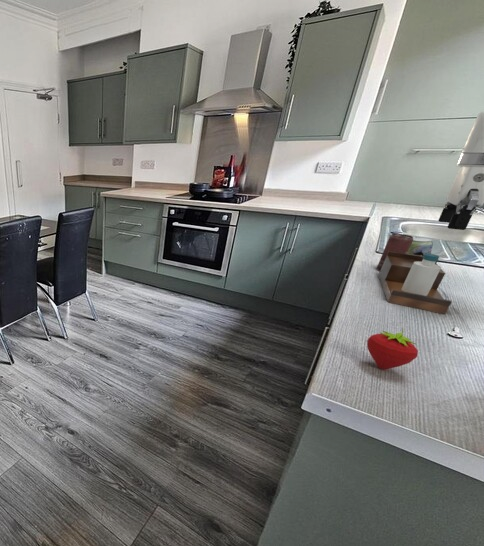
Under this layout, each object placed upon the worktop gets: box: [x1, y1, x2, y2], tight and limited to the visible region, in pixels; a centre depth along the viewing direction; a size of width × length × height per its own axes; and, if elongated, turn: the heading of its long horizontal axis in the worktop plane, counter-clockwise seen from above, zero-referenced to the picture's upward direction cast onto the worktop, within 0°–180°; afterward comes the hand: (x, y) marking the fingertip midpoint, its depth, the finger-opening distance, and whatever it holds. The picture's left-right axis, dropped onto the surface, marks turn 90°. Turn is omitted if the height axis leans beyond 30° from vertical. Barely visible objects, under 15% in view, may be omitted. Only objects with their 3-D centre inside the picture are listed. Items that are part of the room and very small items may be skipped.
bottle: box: [402, 253, 442, 296], centre depth 93 cm, size 6×6×12 cm
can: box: [376, 232, 414, 272], centre depth 115 cm, size 6×6×14 cm
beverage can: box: [407, 237, 434, 256], centre depth 117 cm, size 6×7×12 cm
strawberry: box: [366, 327, 419, 371], centre depth 64 cm, size 6×8×10 cm
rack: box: [378, 251, 453, 315], centre depth 98 cm, size 12×26×10 cm, turn 142°
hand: (450, 225), depth 87 cm, fingers open, 9 cm apart
